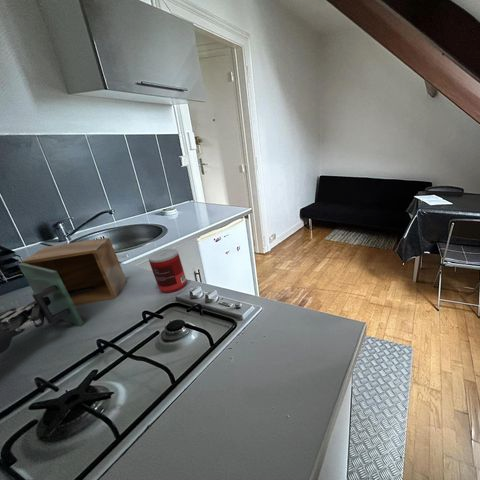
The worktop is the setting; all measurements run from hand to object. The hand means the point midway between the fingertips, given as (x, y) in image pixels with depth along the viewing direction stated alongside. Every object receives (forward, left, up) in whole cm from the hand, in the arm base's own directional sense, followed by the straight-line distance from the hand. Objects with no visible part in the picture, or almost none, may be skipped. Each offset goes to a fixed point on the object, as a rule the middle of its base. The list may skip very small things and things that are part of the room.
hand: (46, 299), depth 64 cm
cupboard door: (0, -1, -7) cm, 7 cm away
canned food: (+26, +7, -7) cm, 28 cm away
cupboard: (+3, +12, -7) cm, 14 cm away
